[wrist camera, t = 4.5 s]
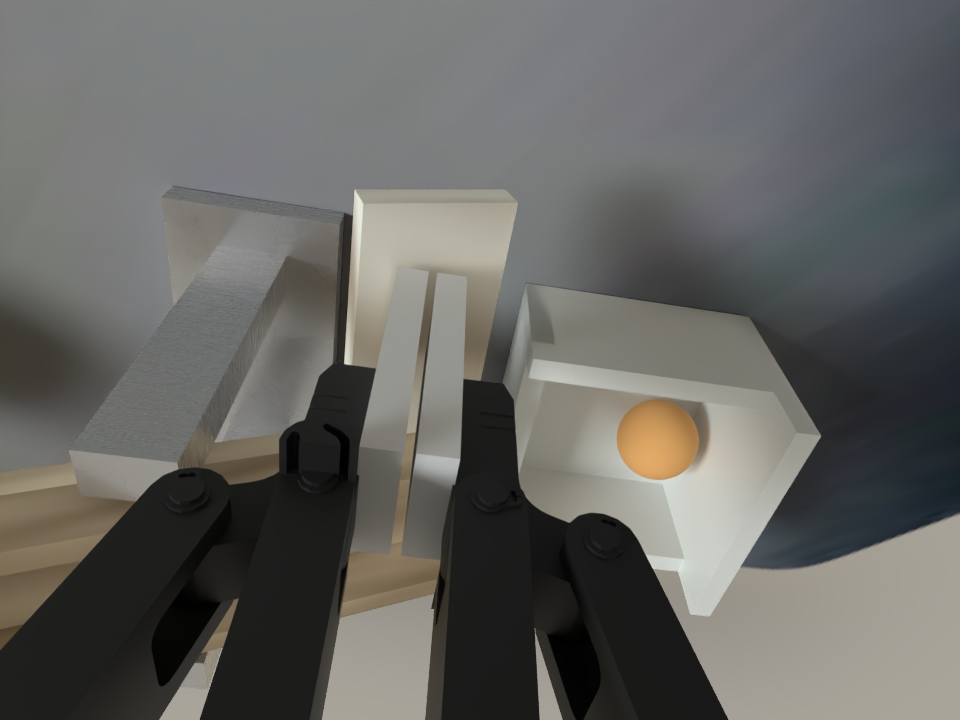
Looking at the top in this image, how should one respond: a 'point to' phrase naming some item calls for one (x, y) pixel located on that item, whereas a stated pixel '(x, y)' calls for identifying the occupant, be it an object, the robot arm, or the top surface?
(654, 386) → the tray
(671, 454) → the ball
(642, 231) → the top surface
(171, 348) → the stand
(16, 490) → the lever
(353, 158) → the top surface
